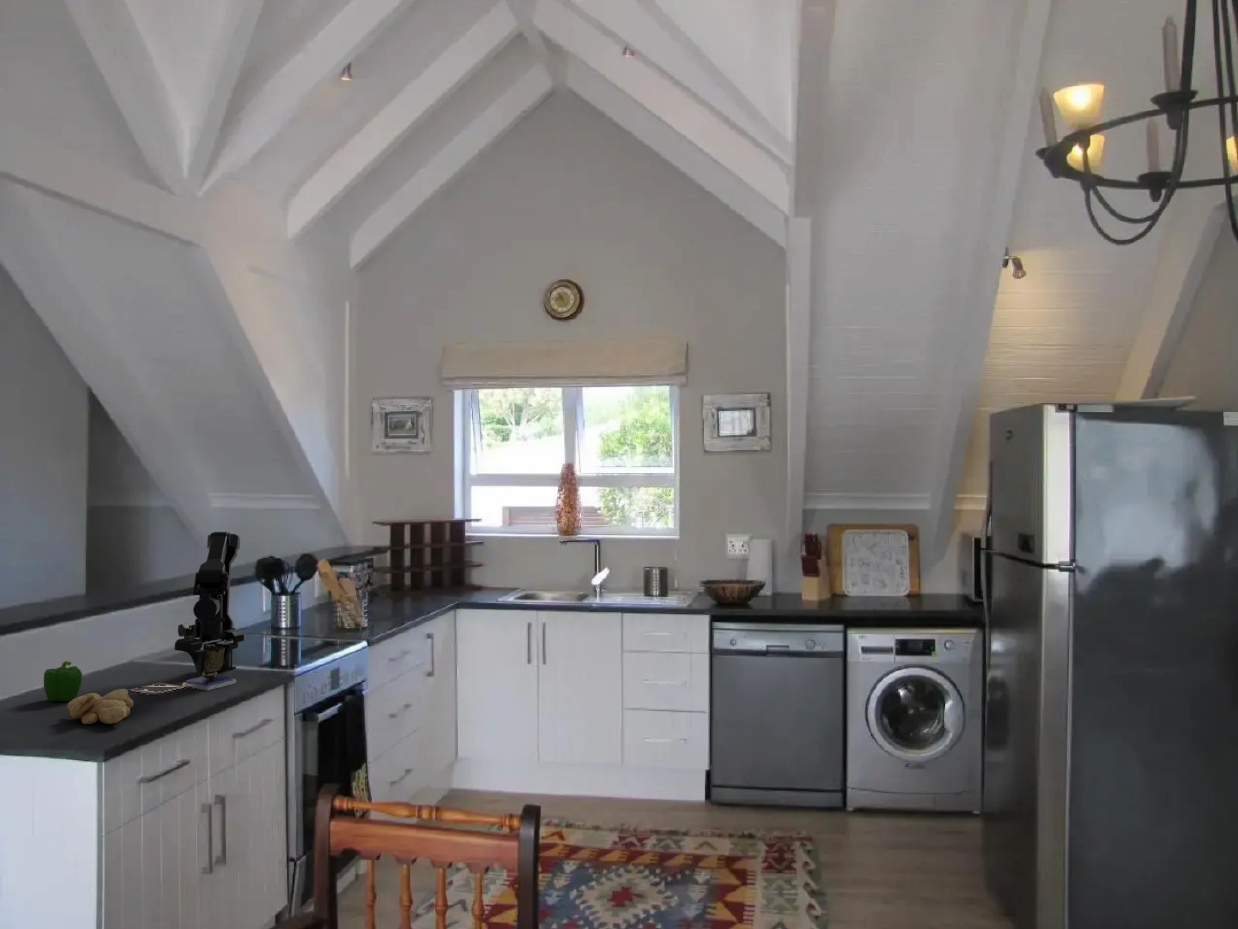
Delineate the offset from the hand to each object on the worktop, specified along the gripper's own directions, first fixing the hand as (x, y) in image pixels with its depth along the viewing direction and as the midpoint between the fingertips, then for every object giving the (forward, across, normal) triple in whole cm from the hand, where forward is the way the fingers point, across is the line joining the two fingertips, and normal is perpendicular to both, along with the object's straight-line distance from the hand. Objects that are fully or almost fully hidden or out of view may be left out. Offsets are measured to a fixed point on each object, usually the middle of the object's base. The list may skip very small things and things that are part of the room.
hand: (209, 672), depth 257 cm
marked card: (+3, +10, -8) cm, 13 cm away
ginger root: (+4, +37, +6) cm, 38 cm away
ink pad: (+3, 0, 0) cm, 3 cm away
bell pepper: (+4, +29, -18) cm, 35 cm away
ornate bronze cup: (+2, 0, 0) cm, 2 cm away
